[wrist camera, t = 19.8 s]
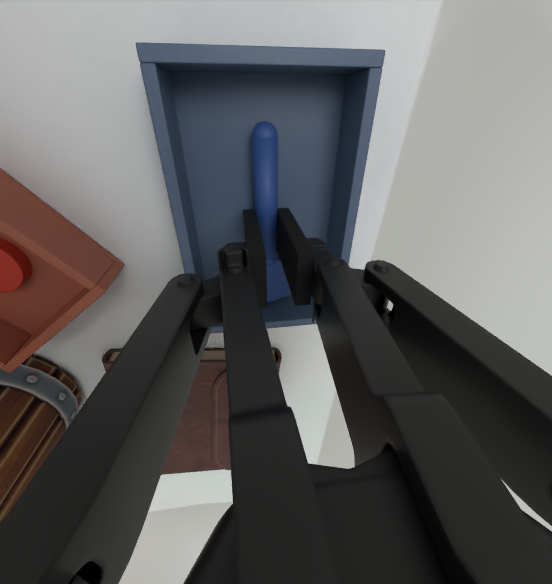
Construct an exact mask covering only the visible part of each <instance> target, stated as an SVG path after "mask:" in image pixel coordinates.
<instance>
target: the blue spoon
mask: <svg viewBox="0 0 552 584" xmlns="http://www.w3.org/2000/svg"><path fill="white" fill-rule="evenodd" d="M252 156H253V179H254V203H255V211H256V215H257V219H258V223H259V227H260V232H261V236H262V240H263V244H264V249H265V253H266V266H267V302H270V301H275V300H278V299H280V298H282V297H283V296H284V295H286V294H287V293H288V291H289V290H290V288H289V285H288V282H287V279H286V276H285V273H284V270H283V267H282V264H281V260H280V257H279V255H278V251H277V227H278V133H277V130H276V128H275V126H274V125H273V124H272V123H270V122H268V121H262V122H259V123H258V124H256V125H255V127H254V128H253V131H252Z"/></svg>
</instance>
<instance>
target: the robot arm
mask: <svg viewBox="0 0 552 584" xmlns="http://www.w3.org/2000/svg"><path fill="white" fill-rule="evenodd" d="M243 219H244V234H245V242H236V243H227V244H226V245H225V246H224V247H223V248H221V249H220V250H218V252H217V256H218V264H219V272H220V274H219V275H217V276H216V277H214V278H211V279H208V280H204V281H203V279H202V277H201V276H200V275H197V274H192V273H184V274H180V275H178V276H176V277H174V278H172V279H171V280H170V281H169V282H168V284H167V285H166V287H165V288H164V290H163V291H162V292H161V294H160V295H159V297H158V298H157V300H156V301H155V303H154V304H153V305H152V307H151V308H150V310H149V311H148V313H147V314H146V316H145V317H144V318H143V320H142V321H141V323H140V324H139V326H138V327H137V329H136V330H135V331H134V333H133V334H132V336H131V337H130V339H129V340H128V342H127V343H126V344H125V346H124V347H123V349H122V350H121V352H120V353H119V354H118V356H117V357H116V359H115V360H114V362H113V363H112V365H111V366H110V367H109V369H108V370H107V372H106V373H105V375H104V376H103V378H102V379H101V380H100V382H99V383H98V385H97V386H96V388H95V389H94V391H93V392H92V393H91V395H90V396H89V398H88V399H87V401H86V402H85V404H84V405H83V406H82V408H81V409H80V411H79V412H78V414H77V415H76V417H75V418H74V419H73V421H72V422H71V424H70V425H69V427H68V428H67V429H66V431H65V432H64V434H63V435H62V437H61V438H60V440H59V441H58V442H57V444H56V445H55V447H54V448H53V450H52V451H51V453H50V454H49V455H48V457H47V458H46V460H45V461H44V463H43V464H42V466H41V467H40V468H39V470H38V471H37V473H36V474H35V476H34V477H33V479H32V480H31V481H30V483H29V484H28V486H27V487H26V489H25V490H24V491H23V493H22V494H21V496H20V497H19V499H18V500H17V502H16V503H15V504H14V506H13V507H12V509H11V510H10V512H9V513H8V515H7V516H6V517H5V518H4V519H3V520H2V521H1V522H0V584H118V583H119V581H120V579H121V577H122V575H123V573H124V571H125V569H126V567H127V565H128V563H129V561H130V558H131V556H132V553H133V550H134V548H135V546H136V543H137V540H138V538H139V535H140V533H141V530H142V527H143V525H144V522H145V519H146V516H147V513H148V510H149V507H150V504H151V502H152V499H153V496H154V493H155V490H156V487H157V484H158V481H159V479H160V476H161V473H162V470H163V467H164V464H165V461H166V458H167V456H168V453H169V450H170V447H171V444H172V441H173V438H174V435H175V433H176V430H177V427H178V424H179V421H180V418H181V415H182V412H183V410H184V407H185V404H186V401H187V398H188V395H189V392H190V389H191V387H192V384H193V381H194V378H195V375H196V372H197V369H198V366H199V364H200V361H201V358H202V355H203V352H204V349H205V346H206V343H207V341H208V338H209V335H210V332H211V326H214V325H217V324H220V323H223V331H224V346H225V361H226V376H227V391H228V405H229V419H228V428H229V445H230V461H231V477H232V493H233V504H232V505H231V506H230V508H229V509H228V510H227V511H226V512H225V514H224V515H223V516H222V518H221V519H220V521H219V522H218V524H217V525H216V527H215V529H214V531H213V532H212V534H211V536H210V537H209V539H208V541H207V543H206V544H205V546H204V548H203V550H202V552H201V553H200V555H199V557H198V559H197V561H196V563H195V564H194V566H193V568H192V569H191V571H190V573H189V575H188V577H187V578H186V580H185V582H184V584H552V532H551V531H550V530H549V529H547V528H546V527H545V526H543V525H542V524H540V523H539V522H538V521H536V520H535V519H533V518H532V517H531V516H529V515H528V514H526V513H525V512H524V511H522V510H521V509H520V507H519V506H518V504H517V503H516V501H515V500H514V498H513V497H512V495H511V494H510V492H509V491H508V489H507V488H506V486H505V485H504V483H503V482H502V480H503V481H504V482H505V483H506V484H507V485H508V486H509V488H510V489H511V490H512V491H513V492H514V493H515V494H516V495H518V496H519V497H520V498H521V499H522V500H523V501H524V502H525V503H526V504H527V505H528V506H529V507H530V508H532V510H533V511H535V512H536V513H537V514H538V515H539V516H540V517H542V518H543V519H544V520H545V521H546V522H548V523H549V524H550V525H551V526H552V376H551V375H550V374H548V373H547V372H545V371H544V370H543V369H541V368H540V367H538V366H537V365H535V364H534V363H533V362H531V361H530V360H528V359H527V358H525V357H524V356H523V355H521V354H520V353H518V352H517V351H515V350H514V349H513V348H511V347H510V346H508V345H507V344H505V343H504V342H503V341H501V340H500V339H498V338H497V337H496V336H494V335H493V334H491V333H490V332H488V331H487V330H486V329H484V328H483V327H481V326H480V325H478V324H477V323H476V322H474V321H473V320H471V319H470V318H468V317H467V316H466V315H464V314H462V313H461V312H460V311H458V310H457V309H456V308H454V307H453V306H451V305H450V304H449V303H447V302H446V301H444V300H443V299H441V298H440V297H439V296H437V295H436V294H434V293H433V292H431V291H430V290H428V289H427V288H426V287H424V286H423V285H421V284H420V283H419V282H417V281H416V280H414V279H413V278H412V277H410V276H409V275H407V274H406V273H404V272H403V271H401V270H400V269H399V268H397V267H396V266H394V265H393V264H390V263H388V262H385V261H380V260H377V261H370V262H368V263H367V264H366V266H365V270H361V269H352V268H350V267H349V265H348V264H347V262H346V261H345V260H343V259H341V258H338V257H334V256H333V255H332V253H331V252H330V250H328V247H327V246H326V245H325V243H324V242H323V241H322V240H320V239H319V238H306V237H305V235H304V233H303V231H302V230H301V228H300V226H299V225H298V223H297V221H296V219H295V218H294V216H293V214H292V213H291V211H290V209H289V208H278V227H277V251H278V254H279V257H280V260H281V264H282V267H283V270H284V273H285V276H286V279H287V282H288V285H289V288H290V291H291V295H292V298H293V301H294V304H295V306H299V305H311V295H312V297H313V300H314V304H313V314H312V323H314V320H315V318H316V322H317V325H318V329H319V332H320V335H321V339H322V342H323V346H324V349H325V352H326V356H327V359H328V363H329V366H330V370H331V373H332V376H333V380H334V383H335V387H336V390H337V394H338V397H339V400H340V404H341V407H342V411H343V414H344V418H345V421H346V424H347V428H348V431H349V434H350V438H351V441H352V445H353V449H354V455H355V456H354V457H355V467H354V468H350V469H344V468H337V467H329V466H322V465H315V464H308V462H307V459H306V455H305V452H304V448H303V445H302V441H301V437H300V434H299V430H298V427H297V423H296V420H295V417H294V414H293V411H292V409H291V407H288V406H287V404H286V401H285V397H284V393H283V390H282V386H281V382H280V378H279V375H278V371H277V367H276V363H275V359H274V356H273V352H272V348H271V344H270V341H269V337H268V333H267V329H266V325H265V322H264V318H263V314H262V310H261V309H262V308H267V266H266V253H265V249H264V244H263V240H262V236H261V232H260V227H259V223H258V219H257V215H256V211H255V209H244V210H243ZM389 300H390V301H391V302H392V303H393V308H392V311H390V310H388V308H387V305H388V301H389ZM500 478H501V479H502V480H501V479H500Z"/></svg>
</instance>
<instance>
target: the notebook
mask: <svg viewBox="0 0 552 584" xmlns="http://www.w3.org/2000/svg"><path fill="white" fill-rule="evenodd" d="M121 350H122V349H110V350H109V351H108V352H106V353H105V354H104V356H103V358H102V361H103V364H104V367H105V370H106V372H107V370H108V369H109V367H110V366H111V365H112V363H113V362H114V360H115V359H116V357H117V356H118V354H119V353H120V352H121ZM272 352H273V356H274V359H275V363H276V367H277V371H278V373H279V368H280V363H281V358H282V356H281V353H280V351H279V350H278V349H277V348H272ZM228 419H229V405H228V391H227V376H226V361H225V348H205V349H204V352H203V355H202V358H201V361H200V364H199V366H198V369H197V372H196V375H195V378H194V381H193V384H192V387H191V389H190V392H189V395H188V398H187V401H186V404H185V407H184V410H183V412H182V415H181V418H180V421H179V424H178V427H177V430H176V433H175V435H174V438H173V441H172V444H171V447H170V450H169V453H168V456H167V458H166V461H165V464H164V467H163V470H162V473H161V475H162V474H174V473H185V472H197V471H209V470H220V469H226V470H231V461H230V445H229V428H228Z"/></svg>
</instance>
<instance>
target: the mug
mask: <svg viewBox="0 0 552 584" xmlns="http://www.w3.org/2000/svg"><path fill="white" fill-rule="evenodd" d="M80 405H81V394H80V391H79V389H78V388H77V386H76V384H75V383H74V382H73V380H72V379H71V378H70V376H69V375H67V374H66V373H65V372H64V371H62V370H61V369H60V368H58V367H56V366H54V365H52V364H51V363H49V362H47V361H45V360H42V359H39V358H36V357H33V356H30V357H28V358H27V359H26V360H25V361H24V362H23V363H21V364H20V365H19V366H18V367H17V368H16V369H14V370H13V371H12V372H11V373H9V372H6V371H4V370H2V369H1V368H0V522H1V521H2V520H3V519H4V518H5V517H6V516H7V515H8V513H9V512H10V510H11V509H12V507H13V506H14V504H15V503H16V502H17V500H18V499H19V497H20V496H21V494H22V493H23V491H24V490H25V489H26V487H27V486H28V484H29V483H30V481H31V480H32V479H33V477H34V476H35V474H36V473H37V471H38V470H39V468H40V467H41V466H42V464H43V463H44V461H45V460H46V458H47V457H48V455H49V454H50V453H51V451H52V450H53V448H54V447H55V445H56V444H57V442H58V441H59V440H60V438H61V437H62V435H63V434H64V432H65V431H66V429H67V428H68V427H69V425H70V424H71V422H72V421H73V419H74V418H75V417H76V415H77V413H78V408H79V406H80Z"/></svg>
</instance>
